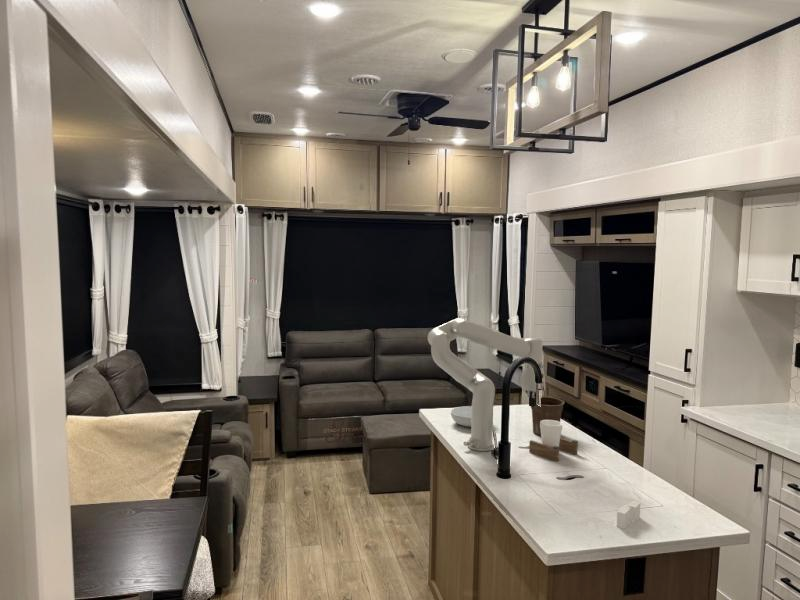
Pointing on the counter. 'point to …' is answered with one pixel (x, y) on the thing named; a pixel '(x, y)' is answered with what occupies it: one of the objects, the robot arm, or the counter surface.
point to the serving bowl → (462, 415)
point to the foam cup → (550, 432)
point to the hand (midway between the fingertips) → (532, 405)
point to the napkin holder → (628, 514)
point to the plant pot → (546, 412)
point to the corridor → (553, 448)
